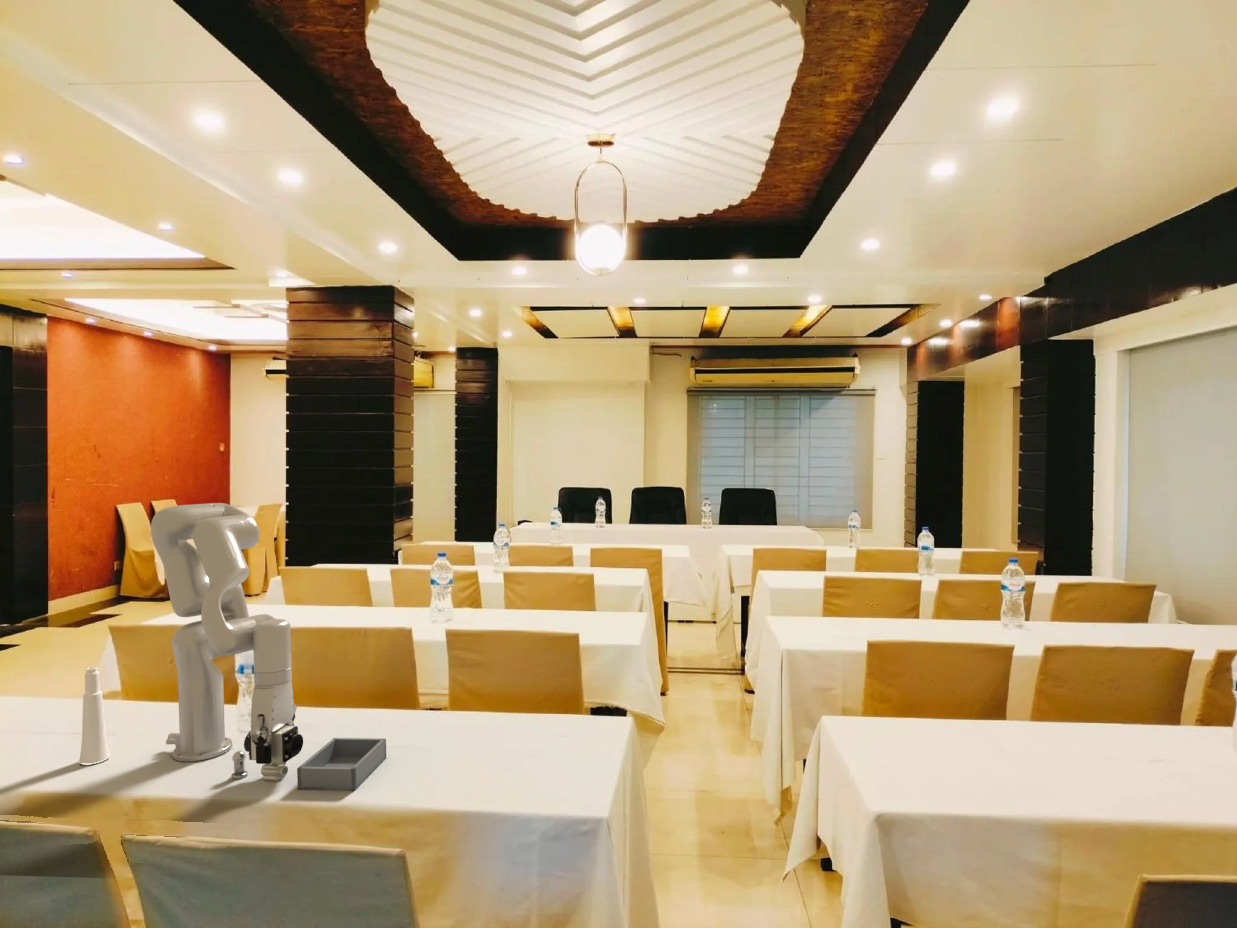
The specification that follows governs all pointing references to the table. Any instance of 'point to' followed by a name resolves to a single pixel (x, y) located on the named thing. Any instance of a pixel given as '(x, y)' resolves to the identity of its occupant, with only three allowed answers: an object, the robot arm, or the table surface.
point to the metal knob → (239, 765)
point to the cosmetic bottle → (93, 721)
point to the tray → (342, 764)
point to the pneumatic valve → (277, 751)
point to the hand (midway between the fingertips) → (275, 754)
